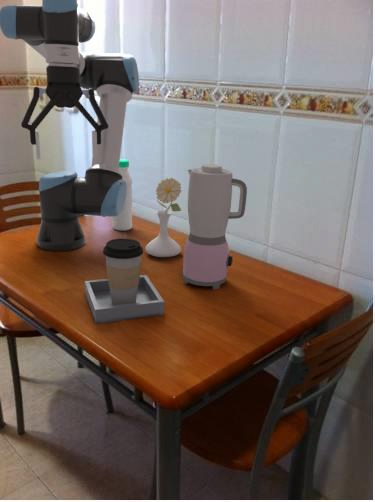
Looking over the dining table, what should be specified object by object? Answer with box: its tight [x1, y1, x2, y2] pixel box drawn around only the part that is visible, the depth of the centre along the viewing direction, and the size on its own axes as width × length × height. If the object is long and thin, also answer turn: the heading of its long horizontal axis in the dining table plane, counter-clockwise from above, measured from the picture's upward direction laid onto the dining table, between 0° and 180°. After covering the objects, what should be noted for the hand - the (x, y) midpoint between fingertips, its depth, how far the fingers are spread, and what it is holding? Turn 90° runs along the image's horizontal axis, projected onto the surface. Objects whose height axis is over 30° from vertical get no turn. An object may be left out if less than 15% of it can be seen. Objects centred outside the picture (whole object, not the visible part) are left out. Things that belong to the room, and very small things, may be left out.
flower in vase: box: [144, 177, 182, 258], centre depth 141 cm, size 13×11×25 cm
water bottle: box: [112, 158, 133, 232], centre depth 165 cm, size 7×7×25 cm
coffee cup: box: [102, 238, 144, 305], centre depth 110 cm, size 9×9×15 cm
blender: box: [182, 163, 248, 290], centre depth 122 cm, size 16×12×32 cm
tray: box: [84, 274, 165, 324], centre depth 112 cm, size 16×16×4 cm
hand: (67, 158), depth 114 cm, fingers open, 13 cm apart
